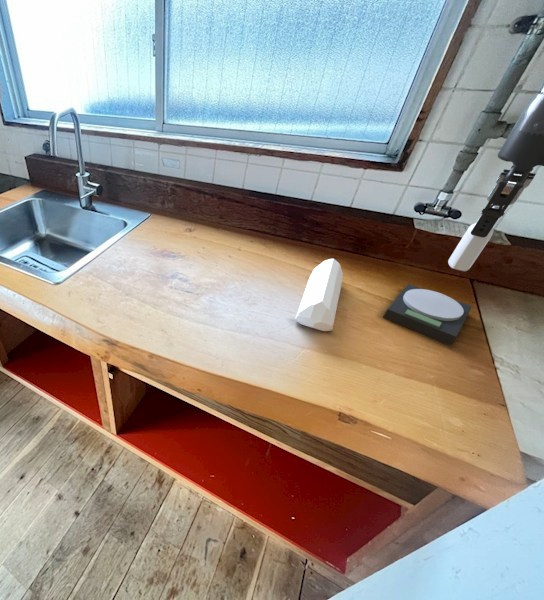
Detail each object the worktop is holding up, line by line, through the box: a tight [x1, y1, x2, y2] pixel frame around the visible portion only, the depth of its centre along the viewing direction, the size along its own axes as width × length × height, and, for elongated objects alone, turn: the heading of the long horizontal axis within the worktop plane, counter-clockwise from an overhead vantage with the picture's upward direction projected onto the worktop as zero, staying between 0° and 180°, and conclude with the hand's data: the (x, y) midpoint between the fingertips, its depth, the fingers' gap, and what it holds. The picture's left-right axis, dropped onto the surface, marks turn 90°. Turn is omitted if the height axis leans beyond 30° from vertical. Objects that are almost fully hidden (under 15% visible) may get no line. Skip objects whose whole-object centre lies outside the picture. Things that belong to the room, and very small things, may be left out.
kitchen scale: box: [382, 283, 473, 346], centre depth 70 cm, size 12×14×3 cm
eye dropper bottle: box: [447, 206, 499, 272], centre depth 60 cm, size 4×6×12 cm
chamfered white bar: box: [294, 257, 344, 332], centre depth 74 cm, size 7×7×24 cm
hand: (481, 229), depth 59 cm, fingers closed on eye dropper bottle, 5 cm apart
